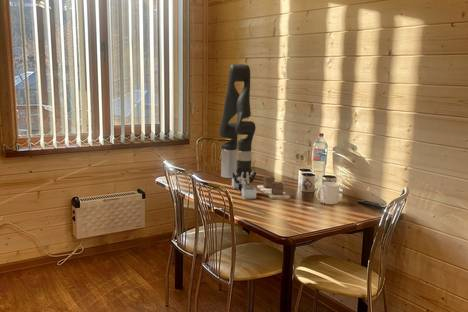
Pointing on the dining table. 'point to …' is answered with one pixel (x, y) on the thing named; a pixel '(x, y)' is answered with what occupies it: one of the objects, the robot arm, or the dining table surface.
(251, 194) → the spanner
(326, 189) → the mug
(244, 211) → the dining table surface
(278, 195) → the peg rack
